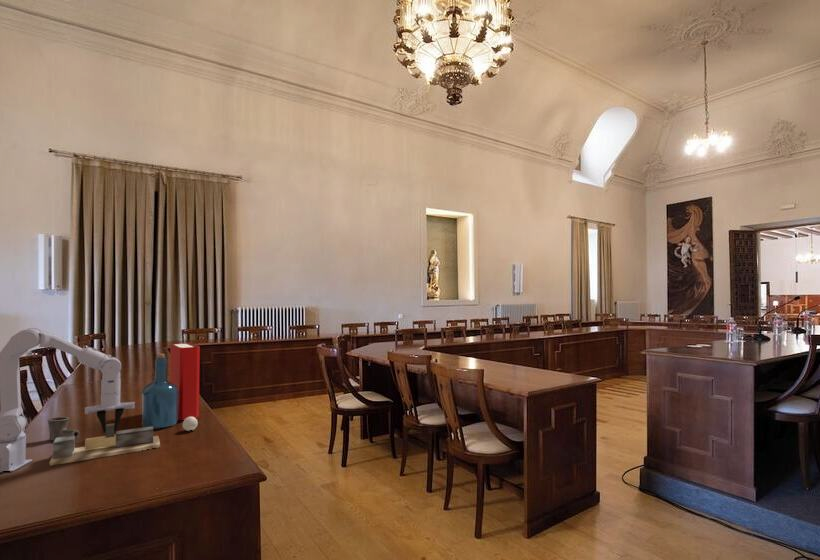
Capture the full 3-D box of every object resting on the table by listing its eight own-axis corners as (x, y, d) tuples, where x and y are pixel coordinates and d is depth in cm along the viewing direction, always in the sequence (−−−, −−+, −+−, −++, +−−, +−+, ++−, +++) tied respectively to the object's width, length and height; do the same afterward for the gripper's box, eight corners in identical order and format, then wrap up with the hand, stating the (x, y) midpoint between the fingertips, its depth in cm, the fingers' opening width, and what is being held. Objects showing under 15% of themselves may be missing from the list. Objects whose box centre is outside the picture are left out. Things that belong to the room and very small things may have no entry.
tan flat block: (84, 449, 151) (85, 429, 151) (85, 447, 153) (86, 426, 153) (151, 439, 161) (151, 420, 161) (150, 437, 164) (151, 418, 164)
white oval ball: (180, 433, 175) (180, 419, 176) (184, 429, 181) (184, 415, 181) (201, 431, 178) (201, 417, 178) (204, 427, 183) (204, 414, 183)
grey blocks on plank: (49, 465, 142) (50, 445, 142) (55, 454, 152) (55, 435, 153) (160, 447, 159) (160, 429, 159) (158, 438, 169) (158, 421, 169)
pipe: (68, 443, 164) (69, 421, 164) (41, 441, 167) (42, 419, 167) (84, 438, 170) (84, 417, 170) (57, 436, 173) (58, 415, 173)
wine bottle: (169, 419, 196) (170, 351, 197) (183, 424, 187) (184, 353, 189) (135, 426, 185) (136, 354, 186) (148, 432, 177) (149, 357, 178)
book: (169, 409, 214) (170, 342, 215) (187, 406, 219) (188, 341, 220) (179, 421, 192) (180, 347, 193) (199, 418, 197) (200, 346, 198)
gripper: (84, 397, 149) (83, 437, 149) (135, 392, 157) (134, 430, 156) (86, 393, 155) (85, 432, 155) (134, 388, 163) (134, 425, 162)
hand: (110, 431), depth 156 cm, fingers closed on tan flat block, 2 cm apart
